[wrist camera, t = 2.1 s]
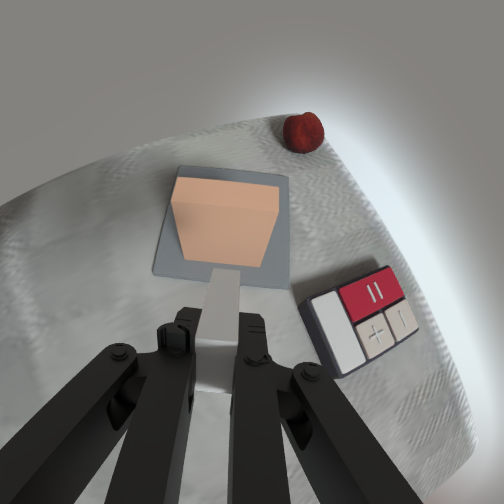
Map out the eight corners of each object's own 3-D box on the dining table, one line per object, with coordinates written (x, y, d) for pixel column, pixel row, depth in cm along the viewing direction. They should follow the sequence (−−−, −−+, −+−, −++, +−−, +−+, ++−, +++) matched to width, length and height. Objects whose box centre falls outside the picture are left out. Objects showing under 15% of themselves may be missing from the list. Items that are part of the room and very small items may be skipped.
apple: (309, 135, 52) (320, 104, 45) (324, 162, 49) (338, 130, 41) (275, 135, 50) (282, 103, 43) (287, 164, 47) (297, 130, 40)
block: (184, 259, 36) (170, 201, 25) (188, 239, 38) (177, 176, 26) (259, 267, 37) (278, 212, 25) (260, 246, 38) (279, 186, 27)
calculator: (423, 328, 33) (342, 379, 28) (405, 335, 37) (327, 381, 32) (392, 261, 37) (307, 296, 33) (377, 273, 41) (296, 306, 36)
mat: (153, 275, 36) (152, 273, 35) (180, 168, 44) (179, 165, 43) (287, 289, 37) (289, 287, 36) (287, 179, 45) (288, 176, 45)
